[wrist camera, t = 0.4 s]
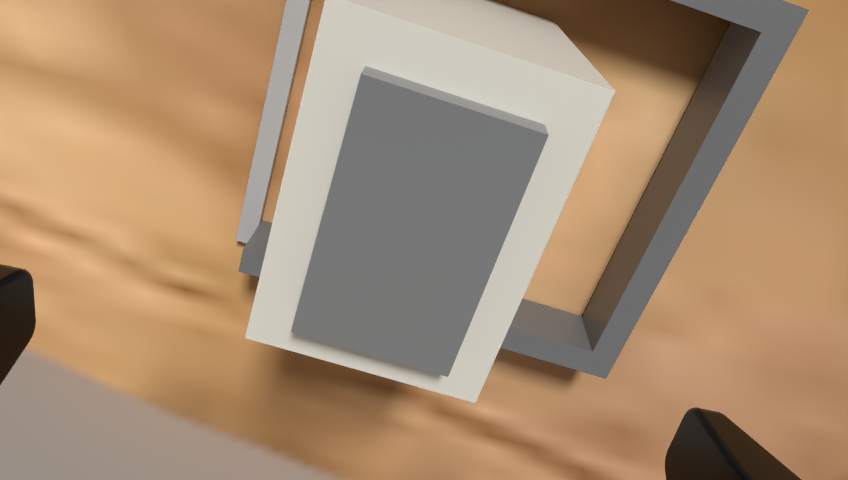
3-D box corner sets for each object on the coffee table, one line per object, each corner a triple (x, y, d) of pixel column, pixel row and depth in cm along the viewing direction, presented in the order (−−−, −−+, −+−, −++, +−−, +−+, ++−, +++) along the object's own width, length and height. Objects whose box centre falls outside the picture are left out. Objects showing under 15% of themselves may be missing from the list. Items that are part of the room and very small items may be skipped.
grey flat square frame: (773, 0, 18) (809, 10, 16) (594, 342, 23) (605, 378, 21) (323, -162, 17) (306, -171, 15) (238, 236, 22) (218, 265, 20)
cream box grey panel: (553, 21, 18) (623, 99, 11) (469, 238, 21) (475, 422, 14) (379, -39, 18) (319, -2, 10) (318, 192, 21) (236, 355, 13)
